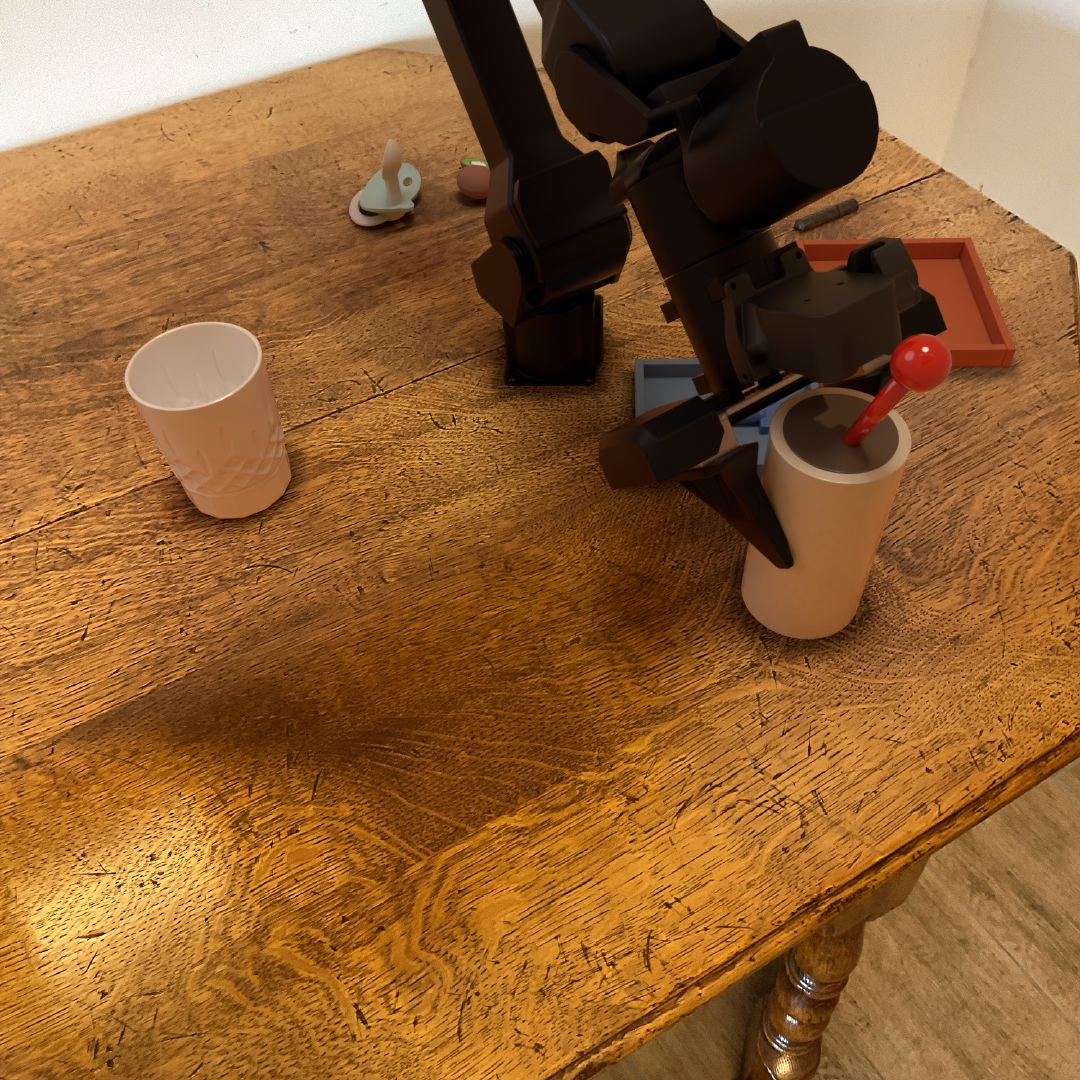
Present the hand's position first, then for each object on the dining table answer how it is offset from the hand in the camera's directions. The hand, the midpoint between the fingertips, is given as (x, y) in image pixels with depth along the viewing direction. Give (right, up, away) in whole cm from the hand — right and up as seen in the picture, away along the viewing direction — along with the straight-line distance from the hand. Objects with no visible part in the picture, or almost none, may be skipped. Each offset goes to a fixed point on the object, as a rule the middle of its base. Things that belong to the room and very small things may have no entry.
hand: (836, 537), depth 52 cm
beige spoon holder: (0, -3, +6) cm, 7 cm away
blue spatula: (-3, +8, +15) cm, 17 cm away
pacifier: (-29, +28, +34) cm, 53 cm away
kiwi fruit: (-21, +31, +35) cm, 51 cm away
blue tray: (-3, +7, +15) cm, 17 cm away
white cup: (-35, +4, +14) cm, 38 cm away
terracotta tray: (+11, +17, +22) cm, 29 cm away
